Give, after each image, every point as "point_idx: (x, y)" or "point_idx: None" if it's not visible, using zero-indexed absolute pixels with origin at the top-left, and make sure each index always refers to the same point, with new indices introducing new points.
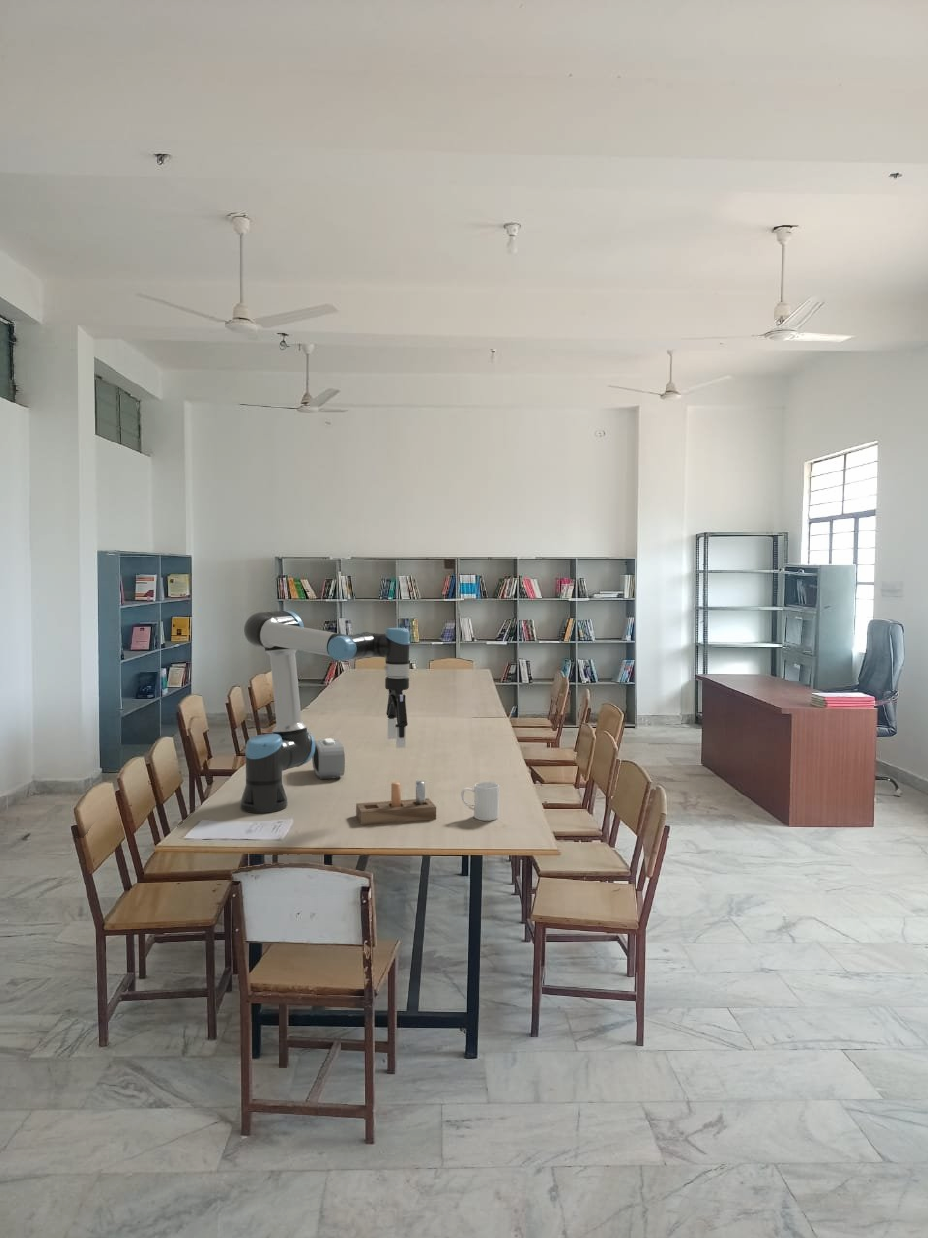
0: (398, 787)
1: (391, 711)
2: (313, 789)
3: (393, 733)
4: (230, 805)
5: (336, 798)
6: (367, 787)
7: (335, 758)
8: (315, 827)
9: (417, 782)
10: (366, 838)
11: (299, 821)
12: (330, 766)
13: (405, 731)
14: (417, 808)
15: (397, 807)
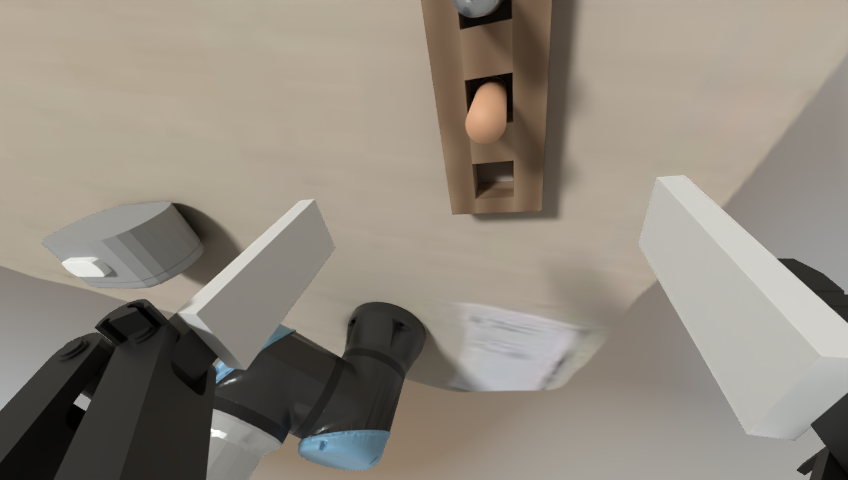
0: (505, 111)
1: (188, 465)
2: None
3: (301, 238)
4: None
5: None
6: (221, 152)
7: (155, 244)
8: (526, 278)
9: (484, 7)
10: None
11: (479, 296)
12: (180, 242)
13: (810, 290)
14: (550, 11)
15: (520, 98)
